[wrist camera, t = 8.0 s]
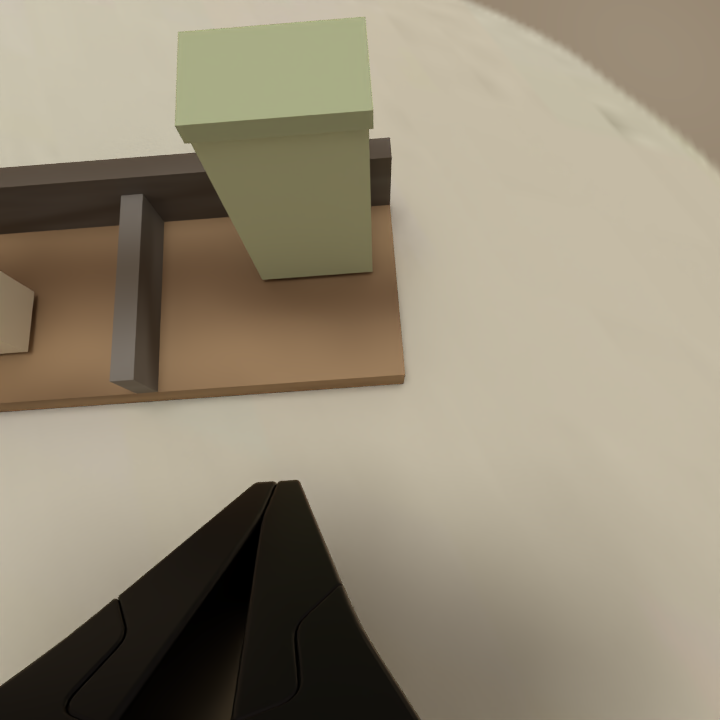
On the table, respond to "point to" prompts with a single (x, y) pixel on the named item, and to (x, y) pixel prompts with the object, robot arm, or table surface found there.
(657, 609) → the table surface
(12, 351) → the beige rectangular block
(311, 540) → the robot arm
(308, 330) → the brown wooden rack
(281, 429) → the table surface
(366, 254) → the pale green tall block
